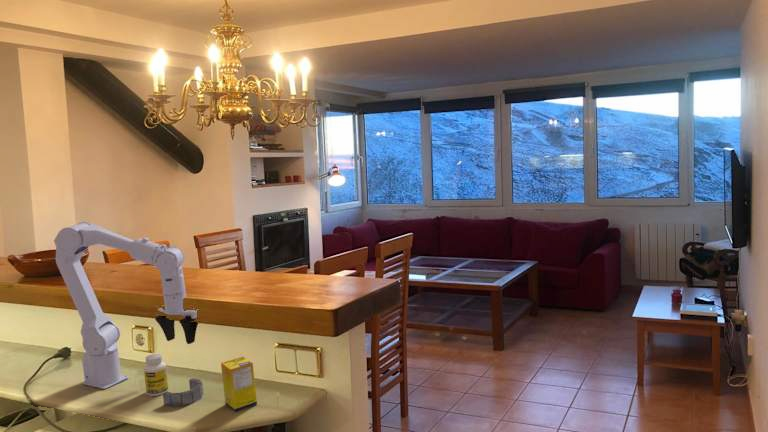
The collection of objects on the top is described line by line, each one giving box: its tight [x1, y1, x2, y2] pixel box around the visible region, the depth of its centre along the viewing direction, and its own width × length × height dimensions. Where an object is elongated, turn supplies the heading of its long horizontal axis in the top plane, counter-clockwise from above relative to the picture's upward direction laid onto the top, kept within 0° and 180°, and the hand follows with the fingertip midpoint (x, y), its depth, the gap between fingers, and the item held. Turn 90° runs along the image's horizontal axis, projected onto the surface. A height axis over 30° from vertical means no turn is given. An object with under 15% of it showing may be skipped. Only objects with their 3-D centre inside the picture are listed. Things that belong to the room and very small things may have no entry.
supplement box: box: [220, 356, 258, 413], centre depth 152 cm, size 6×6×11 cm
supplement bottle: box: [143, 353, 169, 397], centre depth 163 cm, size 5×5×10 cm
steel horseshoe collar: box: [162, 377, 204, 408], centre depth 158 cm, size 6×10×3 cm, turn 151°
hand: (180, 341), depth 170 cm, fingers open, 7 cm apart
